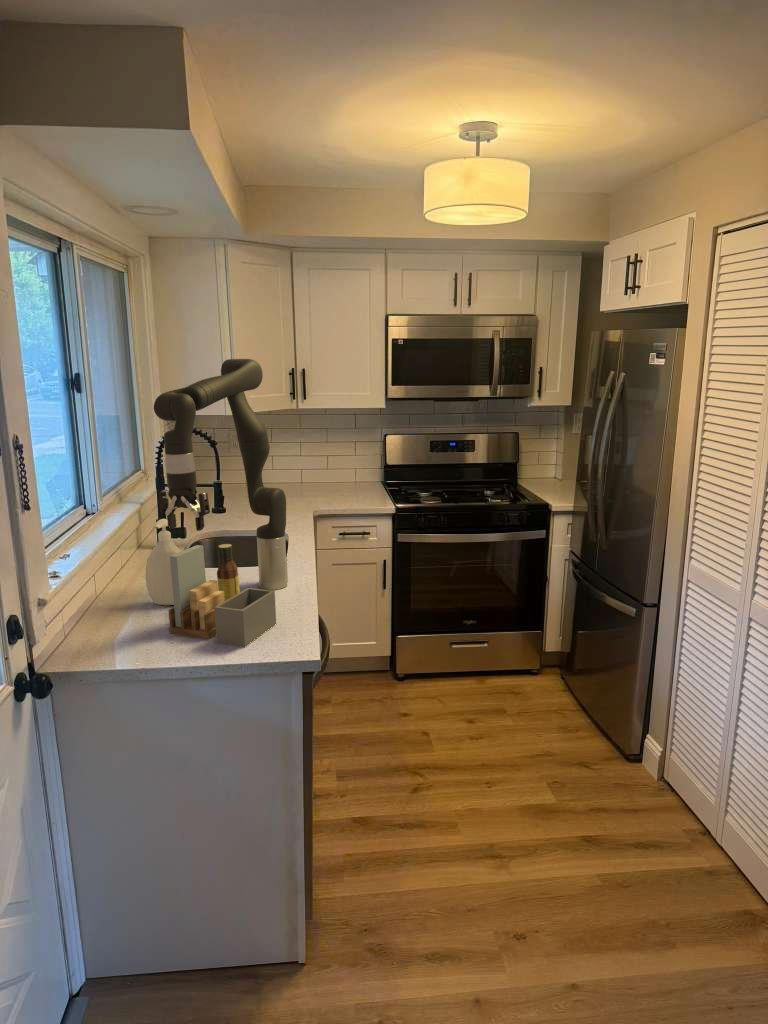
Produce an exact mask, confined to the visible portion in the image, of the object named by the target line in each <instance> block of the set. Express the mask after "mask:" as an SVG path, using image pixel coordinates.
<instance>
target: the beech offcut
mask: <svg viewBox="0 0 768 1024" xmlns="http://www.w3.org/2000/svg"><path fill="white" fill-rule="evenodd" d="M224 601H225V599H224V591H216V592H214V593H212V594H210V595H208V596H207V597H205V598H203V599H201V600H199V601H198V605H199V619H200V629H204V630H205V623H204V614H206V613H207V612H209V611H211V610H213V609H214V607H216V606H218V605H219V604H221V603H223V602H224Z"/></svg>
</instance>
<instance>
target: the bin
mask: <svg viewBox="0 0 768 1024" xmlns="http://www.w3.org/2000/svg"><path fill="white" fill-rule="evenodd" d="M214 609H215V623H216V636H215V637H216V643H217V644H219V645H220V644H221V645H227V646H233V647H234V646H235V647H240V646H241V647H242V648H246V647H248V646H249V645H250V644H251V643H250V642H252V641H253V640H254V639H256V638H257V637H259V636H260V635H261V634H263V633H264V632H265V631H267V630H268V629H269V630H271V629H272V628H274V627H275V626H276V625H277V610H276V609H277V608H276V591H275V590H266V589H262V588H260V589H259V588H253V587H252V588H251V587H247V588H245V589H243V590H242V591H240V593H238V594H237V595H235V596H233V597H231V598H230V599H228V600H226V601H224V602H223V603H221V604H219V605H218V606H216V607H214ZM275 624H276V625H275ZM274 625H275V626H274ZM273 626H274V627H273ZM271 627H272V628H271ZM270 628H271V629H270ZM269 630H268V631H269ZM268 631H267V632H268ZM265 633H266V632H265ZM265 633H264V634H265ZM264 634H263V635H264ZM261 636H262V635H261ZM261 636H260V637H261ZM260 637H259V638H260ZM257 639H258V638H257ZM257 639H256V640H257ZM254 641H255V640H254ZM254 641H253V642H254ZM253 642H252V643H253ZM249 643H250V644H249ZM248 644H249V645H248ZM247 645H248V646H247ZM245 646H246V647H245Z"/></svg>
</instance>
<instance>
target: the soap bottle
mask: <svg viewBox="0 0 768 1024" xmlns="http://www.w3.org/2000/svg"><path fill="white" fill-rule="evenodd" d="M166 527H169V526H168V520H167V518H161V519H158V520H157V521H156V522H155V524H154V526H153V528H154V529H160V528H161V530H160V531H159V533H157V538H158V539H157V540H158V541H157V544H156V545H155V546H154V547H153V549H152V550H151V551H150V553H149V556H148V558H147V559H146V565H145V583H146V584H145V585H146V588H147V592H148V595H149V597H150V598H151V600H152V602H153V603H155V604H156V605H160V606H167V605H174V599H173V587H172V575H171V563H170V556H172V555H174V554H177V553H179V552H181V550H180V548H179V547H178V546H177V545H176V544H175V543H174V542H173V540H172V533H171V532H170V531H169V530H167V528H166Z"/></svg>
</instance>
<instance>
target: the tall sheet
mask: <svg viewBox="0 0 768 1024" xmlns="http://www.w3.org/2000/svg"><path fill="white" fill-rule="evenodd" d="M204 550H205V549H204V545H199V544H196V545H194V546H192V547H190V548H186V549H184V550H182V551H181V550H180V551H181V552H179V553H177V554H174V555H172V556H170V563H171V575H172V587H173V599H174V606H173V607H174V611H175V623H176V626H177V627H181V617H180V611H182V610H184V609H185V608H187V607H189V606H190V595H189V591H190V590H192V589H194V588H196V587H198V586H200V585H202V584H203V583H205V582H207V580H206V579H207V577H206V567H205V566H206V563H205V551H204Z"/></svg>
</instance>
